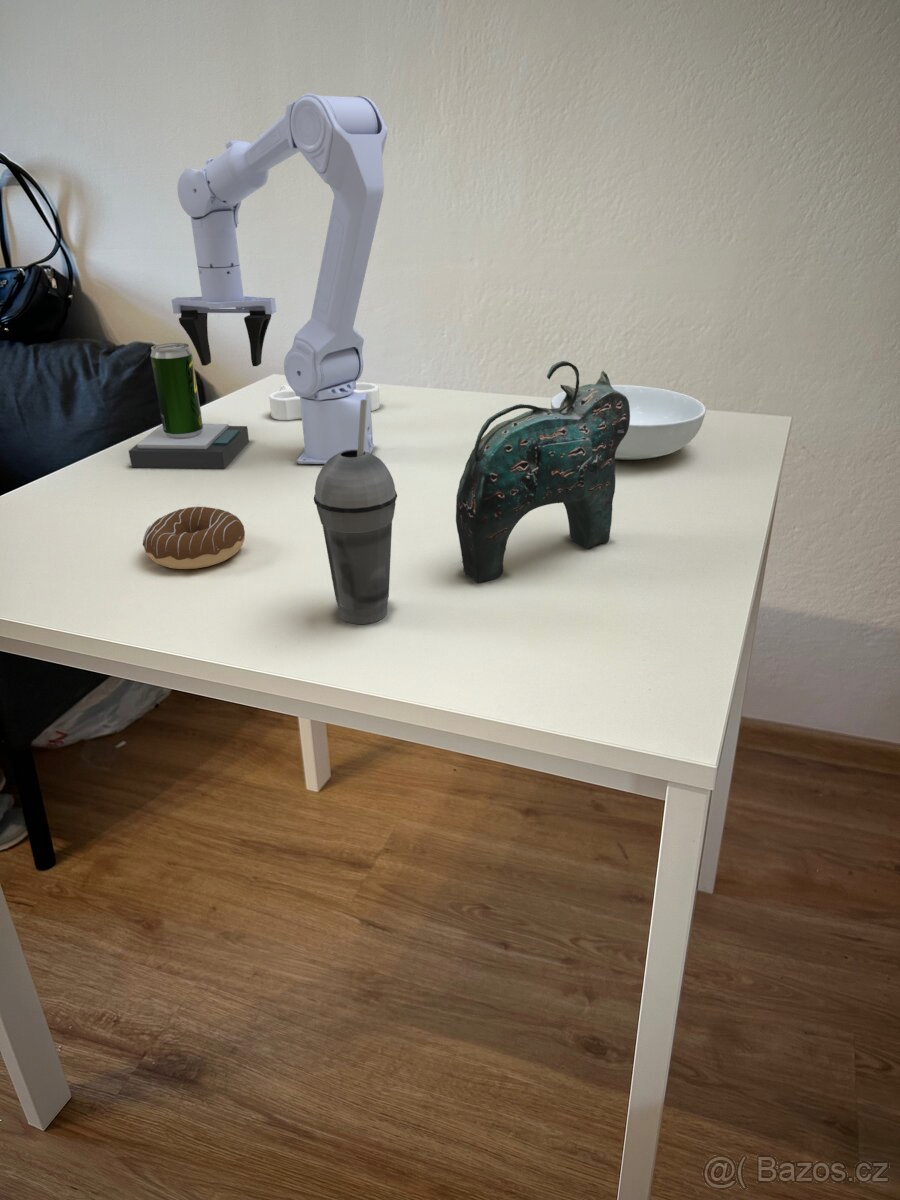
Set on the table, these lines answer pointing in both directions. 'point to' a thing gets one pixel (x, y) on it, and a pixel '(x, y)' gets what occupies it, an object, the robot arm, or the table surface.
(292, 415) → the knuckle duster
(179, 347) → the beer can
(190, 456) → the scale
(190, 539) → the donut
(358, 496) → the beverage cup
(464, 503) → the ceramic cat
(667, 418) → the serving bowl
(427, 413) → the table surface
